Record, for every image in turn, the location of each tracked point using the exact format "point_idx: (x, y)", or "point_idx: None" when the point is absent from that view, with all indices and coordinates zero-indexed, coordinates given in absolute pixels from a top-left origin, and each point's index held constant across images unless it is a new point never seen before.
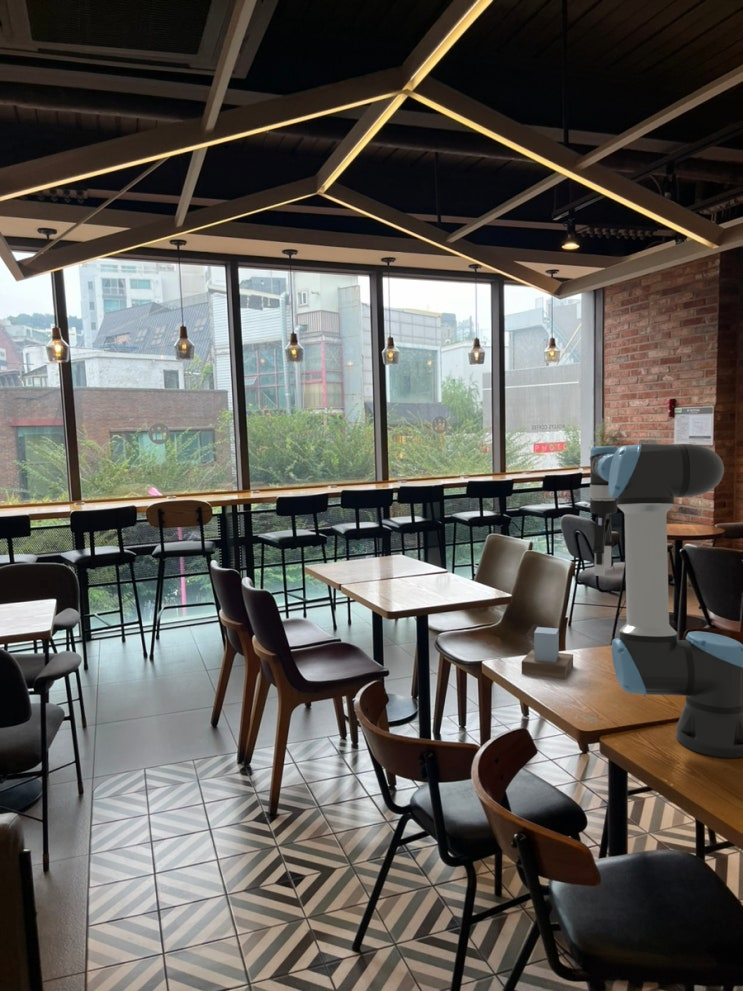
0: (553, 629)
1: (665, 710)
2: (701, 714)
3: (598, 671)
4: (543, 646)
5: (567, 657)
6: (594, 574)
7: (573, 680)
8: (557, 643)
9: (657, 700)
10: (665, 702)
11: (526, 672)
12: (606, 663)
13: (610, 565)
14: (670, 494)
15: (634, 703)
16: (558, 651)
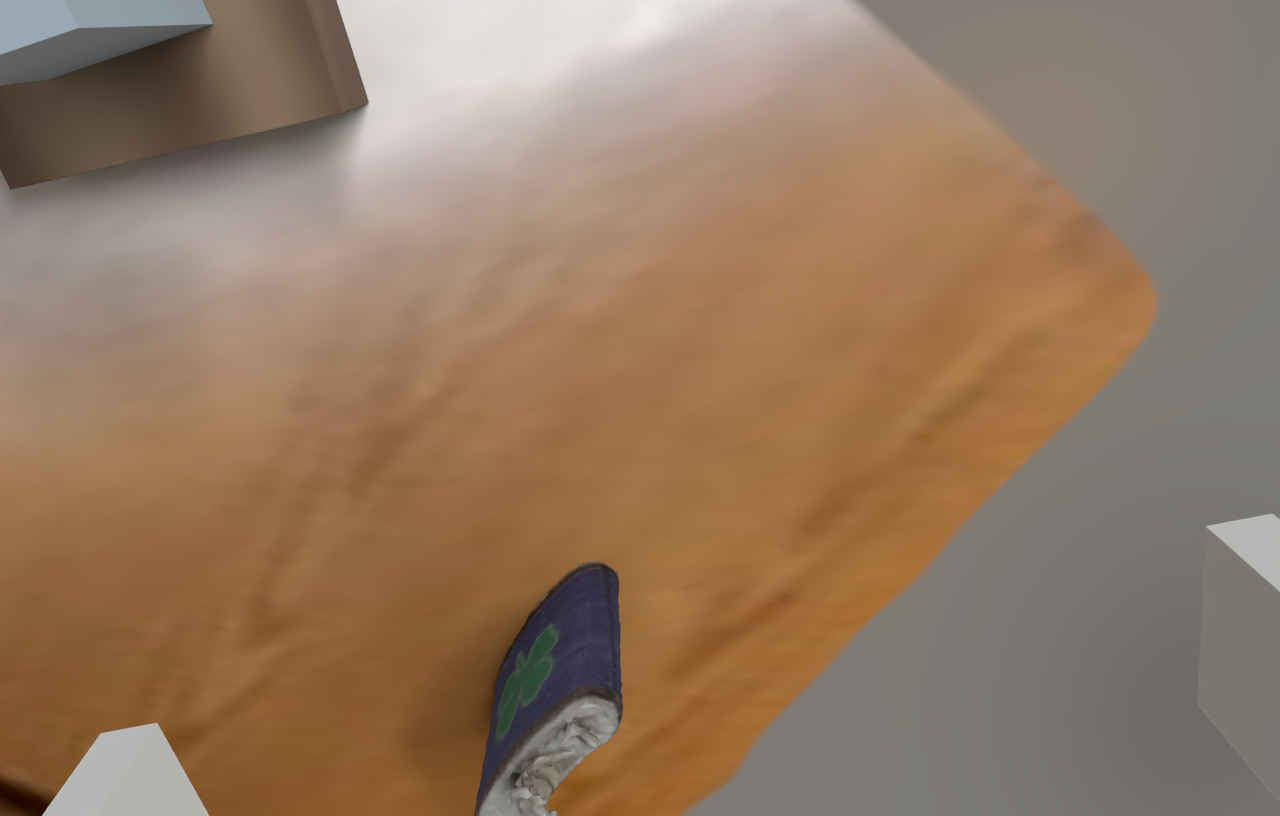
0: None
1: (78, 741)
2: None
3: (388, 297)
4: None
5: (233, 106)
6: (91, 750)
7: (96, 229)
8: (60, 55)
9: (173, 686)
10: (177, 717)
11: None
12: (588, 280)
13: (1228, 739)
14: None
15: (42, 621)
16: (180, 29)
